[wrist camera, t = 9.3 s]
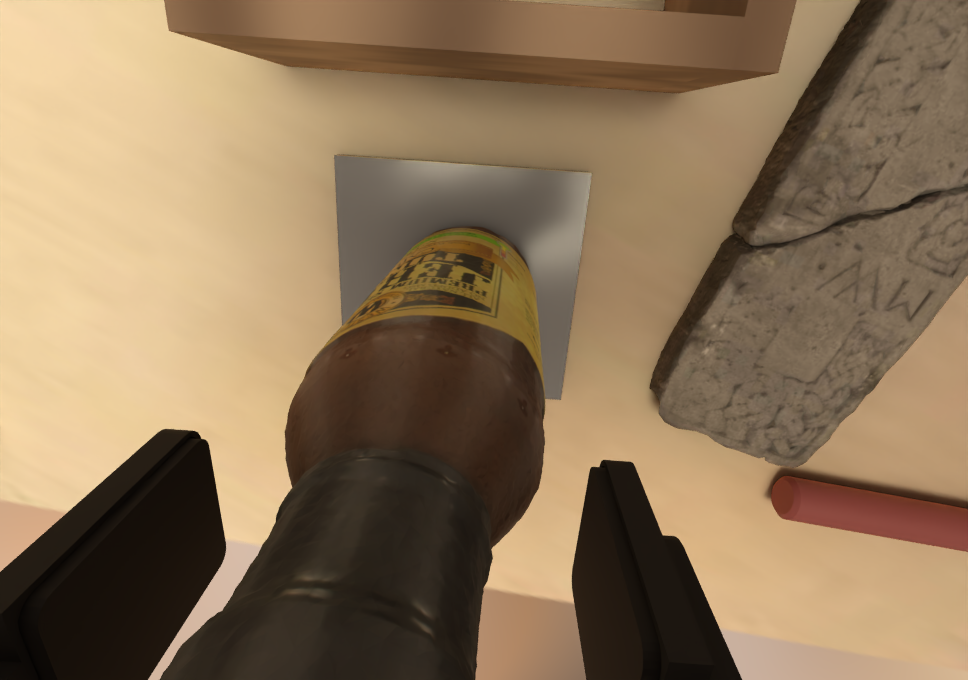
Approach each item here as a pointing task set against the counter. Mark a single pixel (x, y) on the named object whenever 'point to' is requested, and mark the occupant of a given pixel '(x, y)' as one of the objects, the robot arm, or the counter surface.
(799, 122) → the stone slab
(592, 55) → the rack
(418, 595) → the sauce bottle
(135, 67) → the counter surface
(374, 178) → the coaster
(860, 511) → the rolling pin
